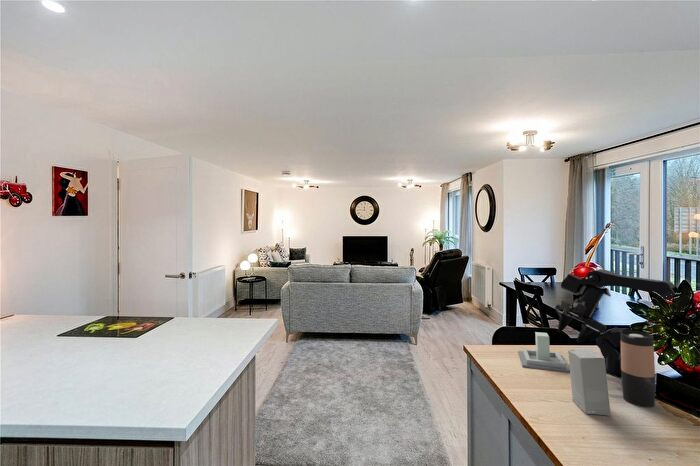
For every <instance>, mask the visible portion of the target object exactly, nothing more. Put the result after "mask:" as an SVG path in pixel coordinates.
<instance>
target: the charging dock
mask: <svg viewBox="0 0 700 466" xmlns="http://www.w3.org/2000/svg"><path fill="white" fill-rule="evenodd" d="M517 353H518V356H519V360H520V362H521V363H520V364H521V367H522V368H527V369H528V368H529V369H538V370H547V371H555V372H563V373H564V372H565V373H570V365H569V363H568V362H567V360H566V358H565V356H563V354H560V353H559V351H550V361H544V360H537V358H536V349H527V348H522V350H518V351H517Z"/></svg>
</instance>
